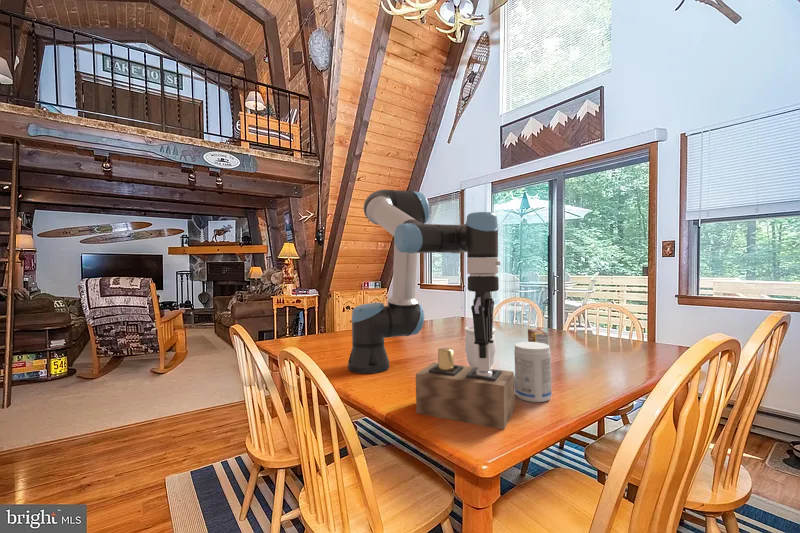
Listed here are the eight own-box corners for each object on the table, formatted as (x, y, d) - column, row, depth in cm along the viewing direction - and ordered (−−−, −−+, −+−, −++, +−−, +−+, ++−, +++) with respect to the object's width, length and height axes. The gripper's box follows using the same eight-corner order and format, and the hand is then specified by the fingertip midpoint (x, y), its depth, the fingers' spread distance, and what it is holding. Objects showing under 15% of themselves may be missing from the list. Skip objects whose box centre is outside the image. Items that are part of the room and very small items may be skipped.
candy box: (527, 372, 128) (527, 328, 127) (540, 372, 127) (540, 328, 127) (535, 381, 119) (535, 333, 119) (549, 381, 118) (549, 333, 118)
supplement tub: (542, 390, 110) (541, 340, 110) (557, 402, 100) (557, 348, 100) (510, 391, 109) (509, 341, 109) (522, 404, 100) (521, 349, 100)
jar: (459, 369, 134) (459, 327, 133) (483, 365, 138) (482, 324, 138) (477, 377, 124) (477, 331, 124) (502, 372, 128) (501, 329, 128)
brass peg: (436, 389, 97) (435, 350, 97) (442, 384, 100) (441, 347, 100) (451, 391, 95) (450, 351, 95) (456, 386, 98) (455, 348, 98)
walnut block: (416, 413, 95) (415, 371, 95) (434, 397, 106) (433, 360, 106) (504, 429, 85) (503, 383, 85) (514, 410, 96) (513, 369, 95)
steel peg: (474, 412, 92) (474, 372, 92) (479, 406, 96) (478, 367, 96) (490, 415, 90) (490, 374, 90) (494, 409, 94) (494, 369, 94)
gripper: (491, 276, 85) (493, 379, 85) (503, 274, 97) (505, 365, 97) (460, 276, 89) (461, 375, 89) (475, 274, 100) (476, 362, 100)
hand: (484, 369), depth 93 cm, fingers closed
